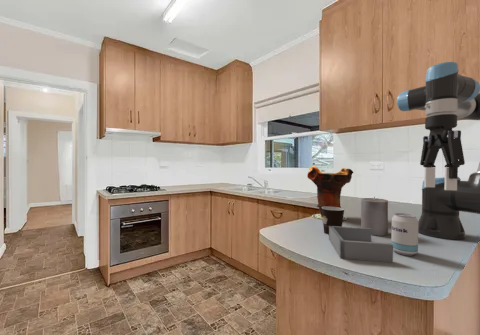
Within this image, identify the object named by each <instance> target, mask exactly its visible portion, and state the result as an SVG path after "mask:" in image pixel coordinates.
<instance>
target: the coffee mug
mask: <svg viewBox="0 0 480 335" xmlns="http://www.w3.org/2000/svg"><path fill="white" fill-rule="evenodd" d="M344 214H345V208H343V207H341V208H339V207H322V210H321V215H322V218H323V220H322V225H323V232H324V234H325V235H329V226H340V227H343V221H344V220H343V216H345V215H344Z"/></svg>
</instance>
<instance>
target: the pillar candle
mask: <svg viewBox="0 0 480 335" xmlns="http://www.w3.org/2000/svg"><path fill="white" fill-rule="evenodd" d="M375 197H376V196H374V197H363V198H361V199H360V228H371V236H378V237H386V236H388V234H389V201H388V200H387V199H385V198H378V197H377V198H375Z"/></svg>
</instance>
